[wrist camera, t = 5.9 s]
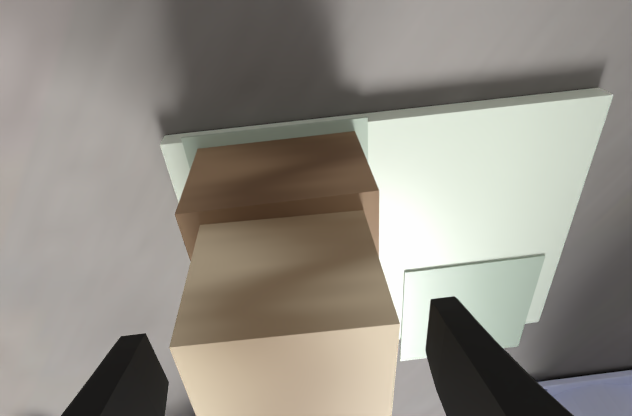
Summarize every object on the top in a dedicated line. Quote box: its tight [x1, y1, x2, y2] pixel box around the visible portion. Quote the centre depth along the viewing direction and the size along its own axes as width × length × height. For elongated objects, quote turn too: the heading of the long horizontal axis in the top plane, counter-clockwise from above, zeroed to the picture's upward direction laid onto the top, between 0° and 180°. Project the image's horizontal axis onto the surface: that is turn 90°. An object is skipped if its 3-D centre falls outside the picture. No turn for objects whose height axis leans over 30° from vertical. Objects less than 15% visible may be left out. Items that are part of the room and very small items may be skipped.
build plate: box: [160, 88, 613, 361], centre depth 19 cm, size 16×14×1 cm
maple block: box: [169, 210, 400, 416], centre depth 11 cm, size 4×4×4 cm
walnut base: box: [175, 131, 379, 261], centre depth 14 cm, size 6×6×4 cm
